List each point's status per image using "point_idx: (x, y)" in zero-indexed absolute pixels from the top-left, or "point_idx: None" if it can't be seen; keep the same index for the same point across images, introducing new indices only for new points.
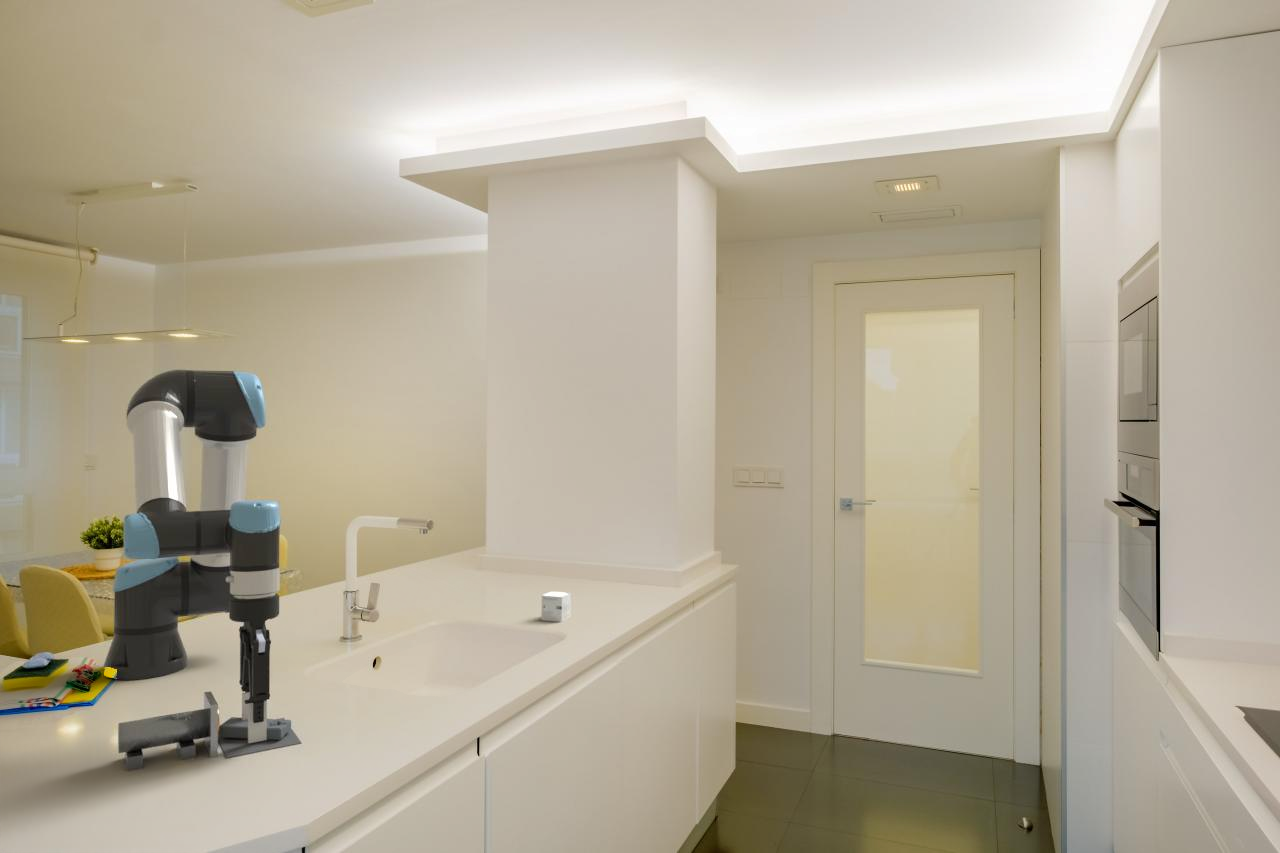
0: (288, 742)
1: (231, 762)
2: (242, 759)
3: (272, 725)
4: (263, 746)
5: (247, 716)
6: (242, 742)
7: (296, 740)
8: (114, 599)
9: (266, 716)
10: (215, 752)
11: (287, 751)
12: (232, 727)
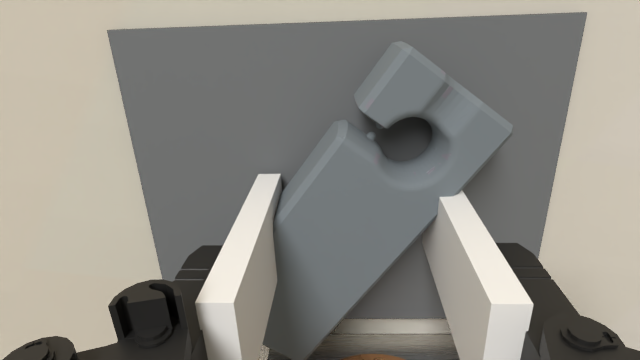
0: (532, 76)
1: (574, 305)
2: (573, 271)
3: (376, 146)
4: (501, 188)
5: (272, 270)
6: None
7: (531, 32)
8: None
9: (486, 231)
10: None
11: (631, 98)
12: (341, 320)
